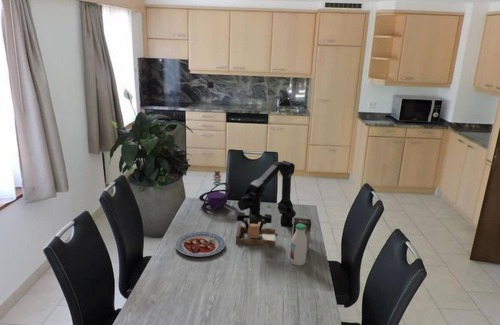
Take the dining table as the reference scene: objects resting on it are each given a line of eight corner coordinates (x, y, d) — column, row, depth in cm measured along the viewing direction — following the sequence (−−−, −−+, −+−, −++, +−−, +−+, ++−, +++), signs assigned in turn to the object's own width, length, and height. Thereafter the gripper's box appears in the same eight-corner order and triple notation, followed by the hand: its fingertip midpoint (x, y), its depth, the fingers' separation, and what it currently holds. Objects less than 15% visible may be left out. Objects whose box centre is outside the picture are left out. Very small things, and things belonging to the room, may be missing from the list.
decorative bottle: (229, 200, 262) (231, 165, 254) (237, 212, 242) (238, 175, 235) (197, 202, 255) (197, 166, 248) (201, 215, 236) (202, 176, 229)
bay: (274, 232, 218) (275, 225, 217) (275, 246, 203) (275, 238, 202) (238, 229, 219) (238, 222, 218) (235, 243, 204) (236, 235, 203)
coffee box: (290, 250, 200) (293, 222, 195) (290, 244, 206) (293, 217, 201) (308, 251, 199) (311, 223, 195) (308, 246, 205) (310, 218, 201)
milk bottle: (306, 259, 192) (310, 223, 186) (303, 267, 185) (307, 230, 179) (291, 256, 194) (294, 220, 188) (287, 264, 187) (291, 226, 181)
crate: (259, 231, 214) (259, 221, 213) (258, 238, 207) (259, 228, 205) (248, 230, 215) (249, 220, 213) (247, 237, 207) (248, 227, 205)
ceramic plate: (180, 263, 183) (180, 258, 182) (171, 238, 206) (171, 233, 205) (231, 255, 192) (231, 250, 191) (217, 232, 215) (217, 227, 214)
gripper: (236, 210, 198) (235, 237, 203) (272, 212, 198) (270, 240, 202) (238, 202, 209) (237, 228, 214) (272, 204, 208) (270, 230, 213)
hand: (253, 231), depth 210 cm, fingers closed on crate, 6 cm apart
